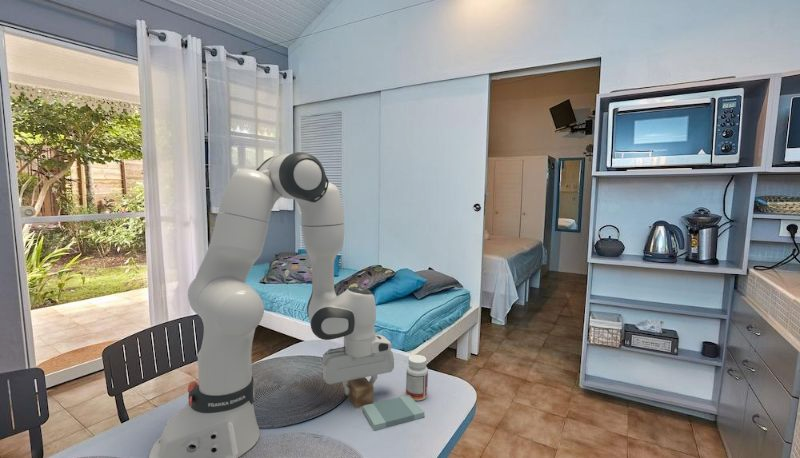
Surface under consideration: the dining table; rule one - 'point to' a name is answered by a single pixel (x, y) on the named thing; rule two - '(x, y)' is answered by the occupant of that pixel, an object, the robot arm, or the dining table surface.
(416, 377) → the pill bottle
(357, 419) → the dining table surface
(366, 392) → the walnut block
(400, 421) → the plate
